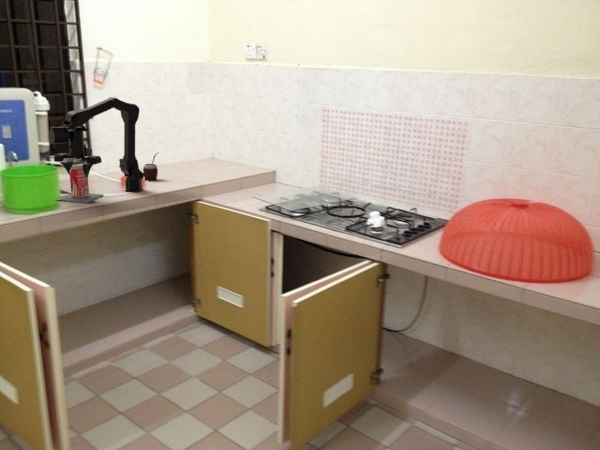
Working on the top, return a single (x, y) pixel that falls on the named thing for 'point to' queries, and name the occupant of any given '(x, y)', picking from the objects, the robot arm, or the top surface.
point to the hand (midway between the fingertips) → (79, 178)
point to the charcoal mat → (81, 200)
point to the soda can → (78, 182)
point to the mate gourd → (150, 171)
